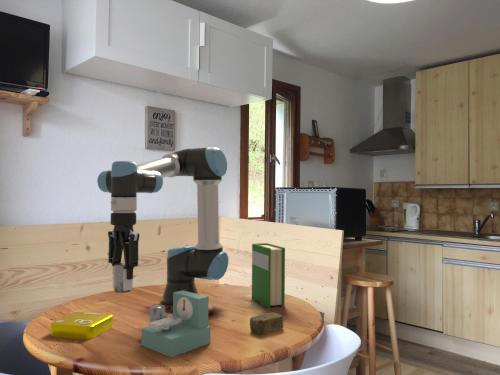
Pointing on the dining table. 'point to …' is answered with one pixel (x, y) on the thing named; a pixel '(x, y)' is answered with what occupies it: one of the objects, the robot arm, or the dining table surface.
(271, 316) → the stone block
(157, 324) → the platform
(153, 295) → the dining table surface
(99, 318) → the element tile
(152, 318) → the cylinder
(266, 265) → the hardback book
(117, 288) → the cylinder
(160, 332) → the scale body
